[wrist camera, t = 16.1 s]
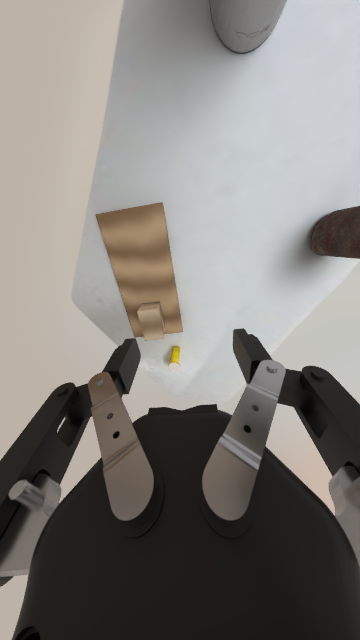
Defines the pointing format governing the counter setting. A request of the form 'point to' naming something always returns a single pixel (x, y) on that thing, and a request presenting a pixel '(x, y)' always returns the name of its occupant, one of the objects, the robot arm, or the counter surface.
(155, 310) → the block
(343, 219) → the rusty brown cylinder
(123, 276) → the board
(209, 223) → the counter surface
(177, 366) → the yellow wavy ring
